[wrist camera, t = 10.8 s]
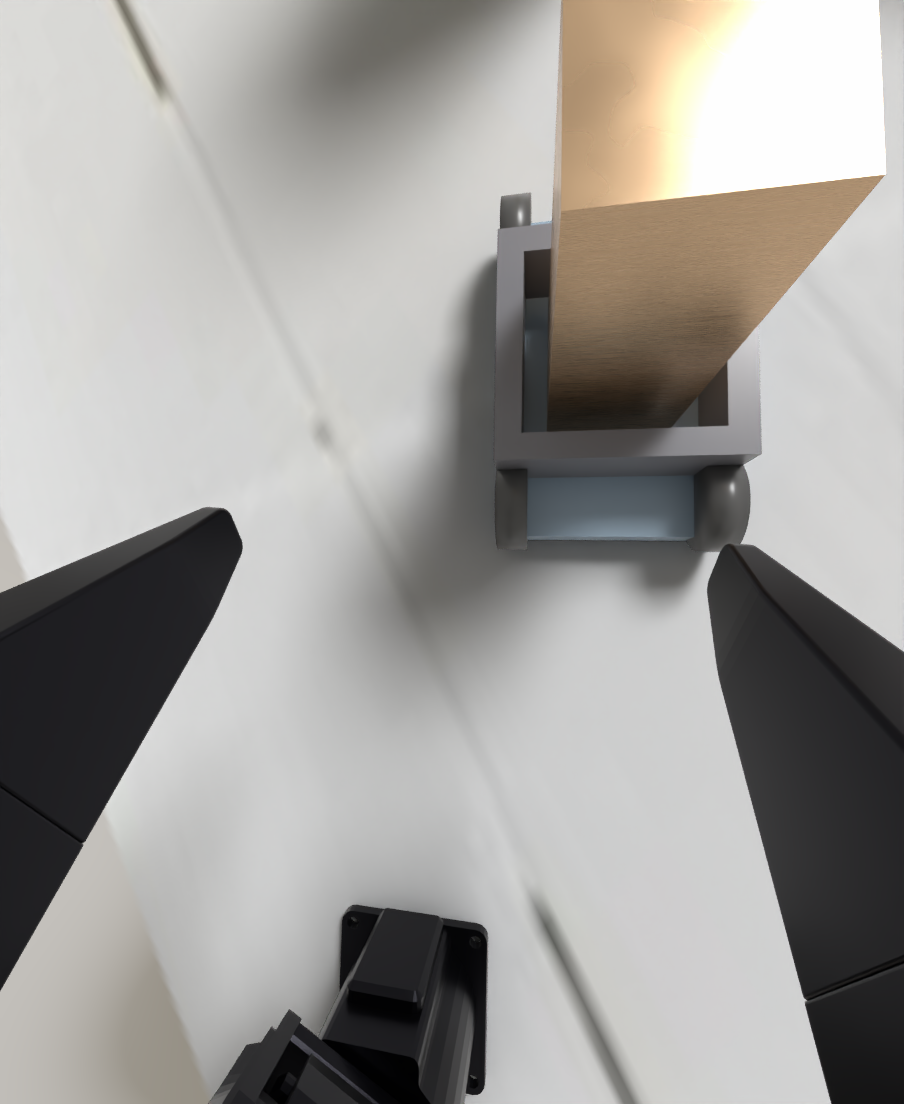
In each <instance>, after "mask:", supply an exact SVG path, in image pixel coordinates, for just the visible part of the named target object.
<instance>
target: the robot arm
mask: <svg viewBox="0 0 904 1104" xmlns="http://www.w3.org/2000/svg"><path fill="white" fill-rule="evenodd" d="M242 549H243V545H242V540H241V538H240V535H239V533H238V530H237V528H236V526H235V523H234V521H233V519H232V516H231V514H230V513H229V512H228V511H227V510H226V509H224V508H213V507H205V508H202V509H199V510H197V511H194V512H192V513H190V514H187V515H185V516H182V517H180V518H178V519H175V520H173V521H171V522H168V523H166V524H163V525H161V526H159V527H156V528H154V529H151V530H149V531H147V532H144V533H142V534H140V535H137V536H135V537H132V538H130V539H128V540H125V541H123V542H120V543H118V544H116V545H113V546H111V547H109V548H106V549H104V550H101V551H99V552H97V553H94V554H92V555H90V556H87V557H85V558H82V559H80V560H78V561H75V562H73V563H70V564H68V565H66V566H63V567H61V568H59V569H56V570H54V571H51V572H49V573H47V574H44V575H42V576H39V577H37V578H35V579H32V580H30V581H28V582H25V583H23V584H21V585H18V586H16V587H13V588H11V589H9V590H6V591H4V592H1V593H0V990H1V989H2V987H3V985H4V984H5V982H6V980H7V978H8V977H9V975H10V973H11V971H12V969H13V968H14V966H15V964H16V962H17V961H18V959H19V957H20V956H21V954H22V952H23V950H24V948H25V947H26V945H27V943H28V942H29V940H30V938H31V936H32V935H33V933H34V931H35V929H36V927H37V926H38V924H39V922H40V921H41V919H42V917H43V915H44V914H45V912H46V910H47V908H48V907H49V905H50V903H51V901H52V899H53V898H54V896H55V894H56V892H57V891H58V889H59V887H60V886H61V884H62V882H63V880H64V879H65V877H66V875H67V873H68V872H69V870H70V868H71V866H72V865H73V863H74V861H75V859H76V858H77V856H78V854H79V852H80V851H81V849H82V847H83V843H84V842H85V841H86V839H87V837H88V836H89V834H90V832H91V831H92V829H93V827H94V825H95V824H96V822H97V820H98V818H99V817H100V815H101V813H102V811H103V810H104V808H105V806H106V804H107V803H108V801H109V799H110V797H111V796H112V794H113V792H114V790H115V789H116V787H117V785H118V783H119V782H120V780H121V778H122V776H123V775H124V773H125V771H126V769H127V768H128V766H129V764H130V762H131V761H132V759H133V757H134V755H135V754H136V752H137V750H138V748H139V747H140V745H141V743H142V741H143V740H144V738H145V736H146V734H147V733H148V731H149V729H150V727H151V726H152V724H153V722H154V720H155V719H156V717H157V715H158V714H159V712H160V710H161V708H162V707H163V705H164V703H165V701H166V700H167V698H168V696H169V694H170V693H171V691H172V689H173V687H174V686H175V684H176V682H177V680H178V679H179V677H180V675H181V673H182V672H183V670H184V668H185V666H186V665H187V663H188V661H189V659H190V658H191V656H192V654H193V652H194V651H195V649H196V647H197V645H198V644H199V642H200V640H201V638H202V637H203V635H204V633H205V631H206V630H207V628H208V626H209V624H210V622H211V620H212V619H213V617H214V615H215V613H216V610H217V608H218V606H219V604H220V602H221V599H222V597H223V595H224V593H225V590H226V588H227V586H228V583H229V581H230V579H231V577H232V574H233V572H234V570H235V567H236V565H237V563H238V561H239V558H240V556H241V554H242ZM707 596H708V603H709V611H710V619H711V626H712V634H713V642H714V650H715V657H716V664H717V670H718V676H719V680H720V684H721V688H722V692H723V696H724V700H725V703H726V707H727V711H728V715H729V719H730V722H731V726H732V730H733V734H734V737H735V741H736V745H737V749H738V752H739V756H740V760H741V764H742V768H743V771H744V775H745V779H746V783H747V786H748V790H749V794H750V798H751V801H752V805H753V809H754V813H755V816H756V820H757V824H758V828H759V832H760V835H761V839H762V843H763V847H764V850H765V854H766V858H767V862H768V865H769V869H770V873H771V877H772V881H773V884H774V888H775V892H776V896H777V899H778V903H779V907H780V911H781V914H782V918H783V922H784V926H785V930H786V933H787V937H788V941H789V945H790V948H791V952H792V956H793V960H794V963H795V967H796V971H797V975H798V979H799V982H800V986H801V990H802V994H803V997H804V998H805V999H806V1000H807V1001H805V1006H806V1010H807V1014H808V1018H809V1022H810V1025H811V1029H812V1033H813V1037H814V1040H815V1044H816V1048H817V1052H818V1055H819V1059H820V1063H821V1067H822V1071H823V1074H824V1078H825V1082H826V1086H827V1089H828V1093H829V1097H830V1101H831V1104H904V652H903V651H902V650H900V649H899V648H898V647H896V646H895V645H893V644H892V643H891V642H889V641H888V640H886V639H885V638H884V637H882V636H881V635H879V634H878V633H877V632H875V631H874V630H872V629H871V628H870V627H868V626H867V625H865V624H864V623H863V622H861V621H860V620H858V619H857V618H856V617H854V616H853V615H851V614H850V613H848V612H847V611H846V610H844V609H843V608H841V607H840V606H839V605H837V604H836V603H834V602H833V601H832V600H830V599H829V598H827V597H826V596H825V595H823V594H822V593H820V592H819V591H818V590H816V589H815V588H813V587H812V586H811V585H809V584H808V583H806V582H805V581H804V580H802V579H801V578H799V577H798V576H797V575H795V574H794V573H792V572H791V571H789V570H788V569H787V568H785V567H784V566H782V565H781V564H780V563H778V562H777V561H775V560H774V559H773V558H771V557H770V556H768V555H767V554H766V553H764V552H763V551H761V550H760V549H759V548H757V547H755V546H753V545H746V544H731V543H730V544H727V545H725V546H724V547H723V548H722V549H721V551H720V554H719V556H718V559H717V561H716V564H715V566H714V569H713V571H712V573H711V576H710V578H709V581H708V587H707ZM351 917H355V918H356V919H357V920H358V922H354V921H353V920H352V919H351ZM472 936H477V937H479V938H480V940H481V941H480V942H476V941H474V940H473V939H472V938H471V937H472ZM487 976H488V933H487V931H486V929H485V928H484V927H483V926H482V925H480V924H477V923H471V922H465V921H458V920H452V919H445V918H440V917H439V916H435V915H429V914H422V913H416V912H409V911H403V910H396V909H390V908H386V909H380V908H374V907H367V906H361V905H352V906H350V907H349V908H348V910H347V911H346V913H345V915H344V916H343V920H342V942H341V967H340V993H339V995H338V997H337V999H336V1001H335V1003H334V1005H333V1007H332V1009H331V1011H330V1013H329V1015H328V1017H327V1019H326V1021H325V1023H324V1025H323V1028H322V1030H321V1032H320V1034H319V1036H318V1037H317V1036H316V1035H314V1034H313V1033H312V1032H311V1031H309V1030H308V1029H307V1028H306V1027H304V1026H303V1025H302V1024H301V1023H300V1021H301V1018H300V1017H299V1016H297V1015H296V1014H295V1013H294V1012H292V1011H291V1010H290V1009H289V1010H288V1012H287V1013H286V1015H285V1017H284V1018H283V1020H282V1021H281V1023H280V1025H279V1026H278V1028H277V1030H275V1029H274V1028H273V1027H271V1028H270V1030H269V1031H268V1033H267V1034H266V1036H265V1037H264V1039H263V1041H262V1042H261V1043H255V1044H249V1045H246V1047H245V1048H244V1050H243V1051H242V1053H241V1055H240V1056H239V1058H238V1059H237V1061H236V1062H235V1064H234V1066H233V1067H232V1069H231V1070H230V1072H229V1074H228V1075H227V1077H226V1078H225V1080H224V1081H223V1083H222V1084H221V1086H220V1088H219V1089H218V1090H217V1092H216V1093H215V1095H214V1096H213V1098H212V1099H211V1100H210V1102H209V1103H208V1104H464V1101H465V1093H466V1094H471V1095H478V1094H480V1093H481V1092H482V1091H483V1089H484V1085H485V1077H486V1030H487ZM470 1075H473V1076H475V1077H476V1078H477V1079H473V1078H471V1077H470Z"/></svg>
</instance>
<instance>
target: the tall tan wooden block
mask: <svg viewBox="0 0 904 1104" xmlns="http://www.w3.org/2000/svg"><path fill="white" fill-rule="evenodd" d="M885 174H886V168H885V145H884V122H883V99H882V75H881V52H880V29H879V6H878V0H561V20H560V43H559V67H558V91H557V114H556V138H555V161H554V185H553V209H552V232H551V256H550V279H549V303H548V348H547V432H556V431H586V430H616V429H646V428H671V427H672V426H673V425H674V424H675V423H676V422H677V420H678V419H679V418H680V417H681V416H682V414H683V413H684V412H685V411H686V410H687V409H688V407H689V406H690V405H691V404H692V403H693V401H694V400H695V399H696V398H697V397H698V396H699V394H700V393H701V392H702V391H703V390H704V388H705V387H706V386H707V385H708V384H709V383H710V381H711V380H712V379H713V378H714V377H715V375H716V374H717V373H718V372H719V371H720V370H721V368H722V367H723V366H724V365H725V364H726V362H727V361H728V360H729V359H730V358H731V357H732V355H733V354H734V353H735V352H736V351H737V349H738V348H739V347H740V346H741V345H742V343H743V342H744V341H745V340H746V339H747V338H748V336H749V335H750V334H751V333H752V332H753V330H754V329H755V328H756V327H757V326H758V325H759V323H760V322H761V321H762V320H763V319H764V317H765V316H766V315H767V314H768V313H769V312H770V310H771V309H772V308H773V307H774V306H775V304H776V303H777V302H778V301H779V300H780V299H781V297H782V296H783V295H784V294H785V293H786V291H787V290H788V289H789V288H790V287H791V286H792V284H793V283H794V282H795V281H796V280H797V278H798V277H799V276H800V275H801V274H802V273H803V271H804V270H805V269H806V268H807V267H808V265H809V264H810V263H811V262H812V261H813V260H814V258H815V257H816V256H817V255H818V254H819V252H820V251H821V250H822V249H823V248H824V246H825V245H826V244H827V243H828V242H829V241H830V239H831V238H832V237H833V236H834V235H835V233H836V232H837V231H838V230H839V229H840V228H841V226H842V225H843V224H844V223H845V222H846V220H847V219H848V218H849V217H850V216H851V215H852V213H853V212H854V211H855V210H856V209H857V207H858V206H859V205H860V204H861V203H862V202H863V200H864V199H865V198H866V197H867V196H868V194H869V193H870V192H871V191H872V190H873V189H874V187H875V186H876V185H877V184H878V183H879V181H880V180H881V179H882V178H883V177H884V176H885Z"/></svg>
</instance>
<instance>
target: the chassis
mask: <svg viewBox="0 0 904 1104" xmlns="http://www.w3.org/2000/svg"><path fill="white" fill-rule="evenodd" d="M551 232H552V221H548V222H539V223H531V193H524V194H515V195H507V196H502V197H501V206H500V229H498V246H497V299H496V352H495V405H494V459H493V460H494V463H495V466H496V469H497V472H496V484H495V533H496V544H497V549H500V550H527V540H644V541H687V543H688V545H689V547H690V548H691V550H693V551H695V552H720V551H721V549H722V548H723V547H724V546H725V545H727V544H730V543H731V544H740V543H741V541H742V540H743V537H744V535H745V532H746V529H747V525H748V520H749V514H750V486H749V480H748V476H747V473H746V470H745V468H744V466H743V465H744V464H745V463H747V462H749V461H750V460H752V459H754V458H755V457H757V456H759V455H761V454H762V448H761V403H760V358H759V325H758V326H757V327H756V328H755V329H754V330H753V332H752V333H751V334H750V335H749V336H748V338H747V339H746V340H745V341H744V342H743V343H742V345H741V346H740V347H739V348H738V349H737V351H736V352H735V353H734V354H733V355H732V357H731V358H730V359H729V360H728V361H727V362H726V364H725V365H724V366H723V367H722V368H721V370H720V371H719V372H718V373H717V374H716V375H715V377H714V378H713V379H712V380H711V381H710V383H709V384H708V385H707V386H706V387H705V388H704V390H703V391H702V392H701V393H700V394H699V396H698V397H697V398H696V399H695V400H694V401H693V403H692V404H691V405H690V406H689V407H688V409H687V410H686V411H685V412H684V413H683V414H682V416H681V417H680V418H679V419H678V420H677V422H676V423H675V424H674V425H673V426H672V427H671V428H646V429H616V430H586V431H556V432H547V348H548V303H549V279H550V256H551Z"/></svg>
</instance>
